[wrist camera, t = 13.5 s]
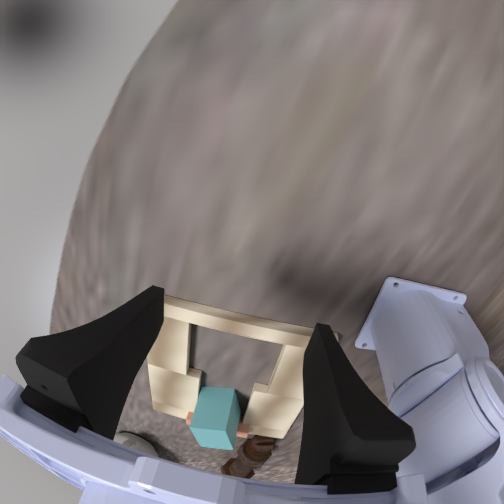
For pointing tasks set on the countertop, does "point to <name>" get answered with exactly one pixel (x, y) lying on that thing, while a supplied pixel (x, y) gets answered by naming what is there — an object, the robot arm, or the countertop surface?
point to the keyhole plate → (189, 379)
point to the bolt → (249, 457)
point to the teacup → (135, 443)
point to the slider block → (216, 418)
